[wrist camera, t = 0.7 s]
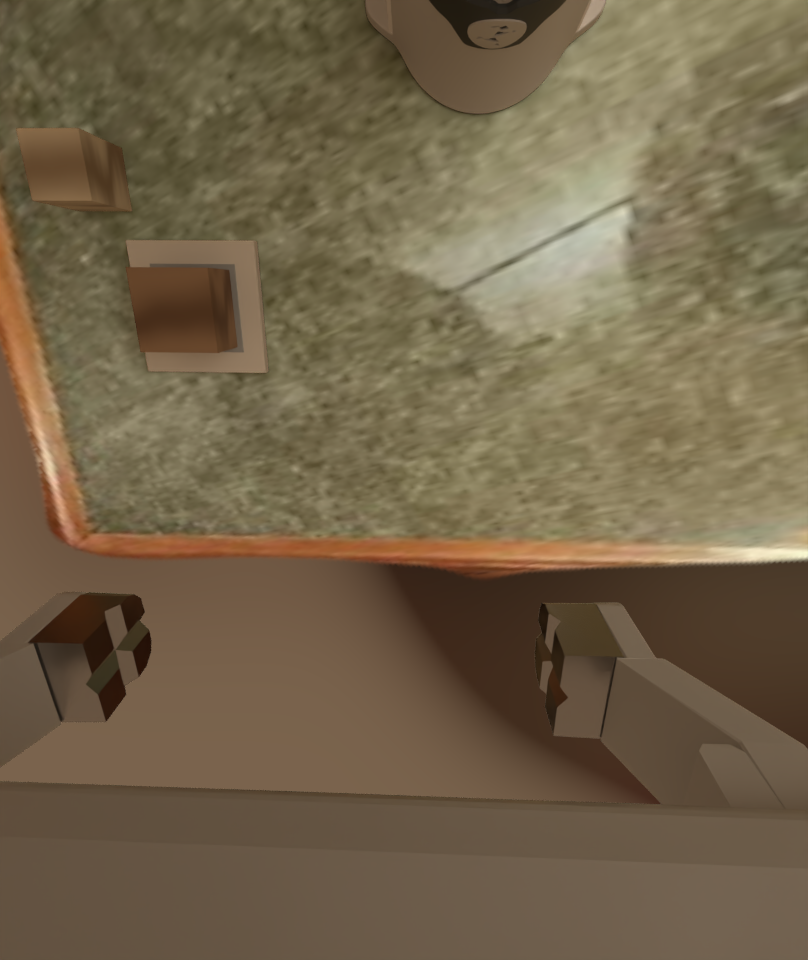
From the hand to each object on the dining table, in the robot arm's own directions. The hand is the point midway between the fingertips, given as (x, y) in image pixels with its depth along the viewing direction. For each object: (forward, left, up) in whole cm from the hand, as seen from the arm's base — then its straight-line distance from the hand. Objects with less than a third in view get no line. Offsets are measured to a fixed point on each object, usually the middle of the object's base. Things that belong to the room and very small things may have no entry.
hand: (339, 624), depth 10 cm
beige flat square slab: (-5, -20, -43) cm, 47 cm away
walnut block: (-5, -20, -41) cm, 46 cm away
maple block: (-16, -28, -43) cm, 53 cm away
